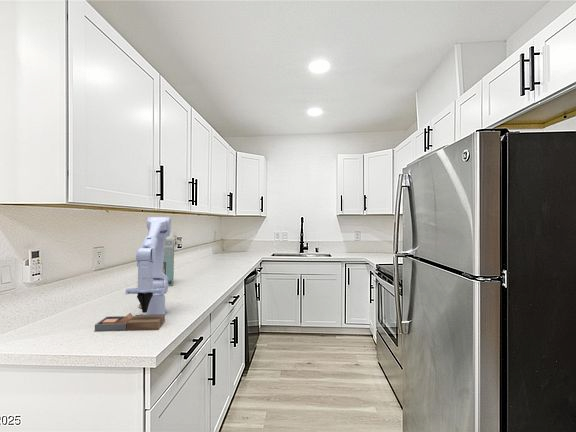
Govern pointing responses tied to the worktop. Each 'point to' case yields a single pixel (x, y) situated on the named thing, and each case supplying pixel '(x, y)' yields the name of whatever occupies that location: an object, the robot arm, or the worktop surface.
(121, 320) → the tile
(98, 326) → the box
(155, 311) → the robot arm
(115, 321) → the tile
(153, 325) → the board
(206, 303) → the worktop surface
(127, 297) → the worktop surface
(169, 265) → the device
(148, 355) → the worktop surface
